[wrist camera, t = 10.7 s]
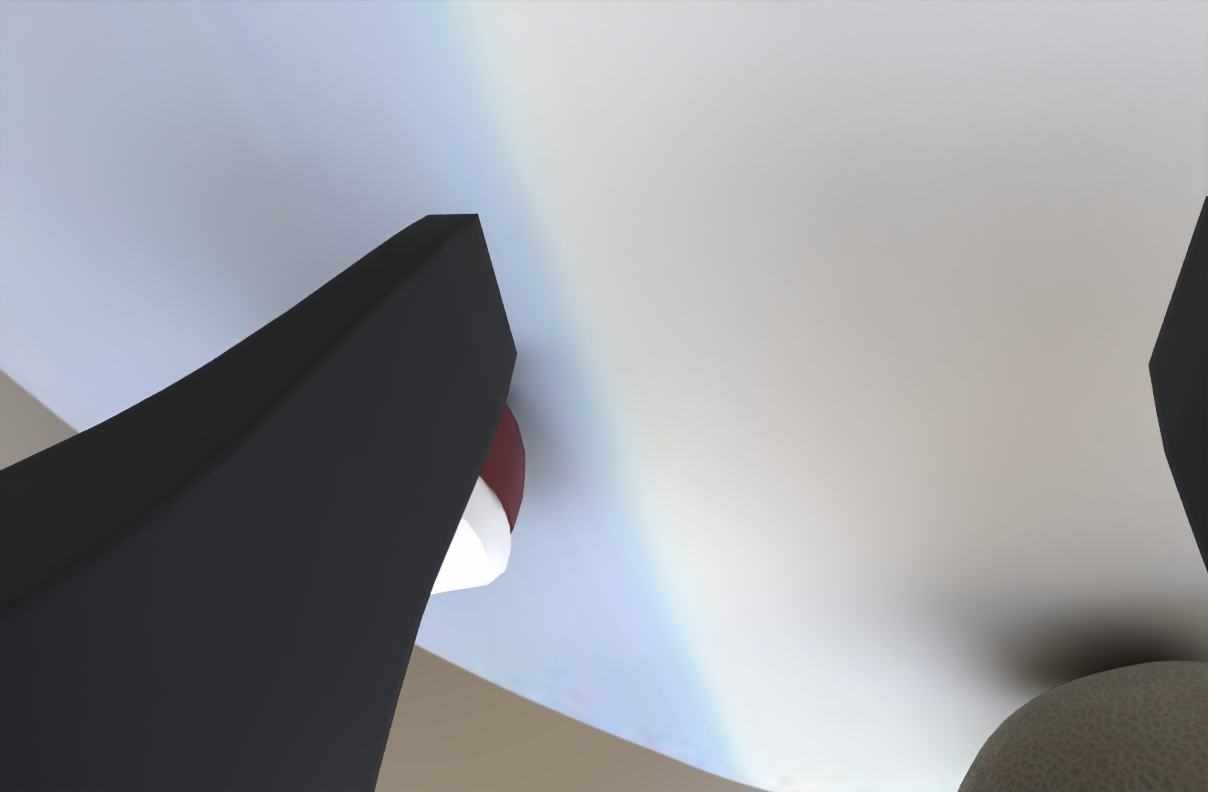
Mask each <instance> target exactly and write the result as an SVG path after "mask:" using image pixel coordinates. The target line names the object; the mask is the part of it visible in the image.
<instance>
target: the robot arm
mask: <svg viewBox="0 0 1208 792" xmlns="http://www.w3.org/2000/svg"><path fill="white" fill-rule="evenodd" d="M516 356H517V352H516V348H515V345H514V341H513V337H512V334H511V330H510V327H509V323H508V320H507V316H506V312H505V309H504V305H503V302H502V298H501V295H500V291H499V287H498V284H497V280H496V277H495V273H494V270H493V266H492V263H491V259H490V255H489V252H488V248H487V245H486V241H485V238H484V234H483V230H482V227H481V223H480V220H479V216H478V214H446V215H427V216H425V217H424V218H422V219H420V220H418V221H416V222H415V223H413V224H411V225H410V226H408V227H406V228H405V229H403V230H402V231H400V232H399V233H397V234H396V235H394V236H393V237H391V238H390V239H388V240H387V241H385V242H384V243H382V244H381V245H380V246H378V247H377V248H375V249H374V250H373V251H371V252H370V253H368V254H367V255H365V256H364V257H363V258H361V259H360V260H358V261H357V262H356V263H354V264H353V265H351V266H350V267H349V268H347V269H346V270H344V271H343V272H342V273H340V274H339V275H337V276H336V277H335V278H333V279H332V280H330V281H329V282H328V283H326V284H325V285H323V286H322V287H321V288H319V289H318V290H316V291H315V292H314V293H312V294H311V295H309V296H308V297H307V298H305V299H304V300H302V301H301V302H299V303H298V304H297V305H295V306H294V307H292V308H291V309H290V310H288V311H287V312H285V313H284V314H282V315H281V316H279V317H278V318H276V319H275V320H273V321H271V322H270V323H268V324H267V325H265V326H264V327H262V328H261V329H259V330H258V331H256V332H255V333H253V334H252V335H250V336H249V337H247V338H246V339H244V340H243V341H241V342H240V343H238V344H237V345H235V346H233V347H232V348H230V349H229V350H227V351H226V352H224V353H223V354H221V355H220V356H218V357H217V358H215V359H214V360H212V361H211V362H209V363H207V364H206V365H204V366H202V367H201V368H199V369H197V370H196V371H194V372H193V373H191V374H189V375H187V376H186V377H184V378H182V379H181V380H179V381H177V382H176V383H174V384H172V385H170V386H169V387H167V388H165V389H163V390H162V391H160V392H158V393H156V394H154V395H152V396H151V397H149V398H147V399H145V400H143V401H141V402H140V403H138V404H136V405H134V406H132V407H130V408H129V409H127V410H125V411H123V412H121V413H119V414H118V415H116V416H114V417H112V418H110V419H108V420H106V421H104V422H102V423H100V424H98V425H96V426H94V427H92V428H90V429H88V430H86V431H83V432H81V433H79V434H77V435H75V436H73V437H71V438H69V439H66V440H64V441H62V442H60V443H58V444H56V445H54V446H51V447H50V448H47V449H45V450H43V451H41V452H39V453H37V454H34V455H32V456H30V457H28V458H26V459H24V460H22V461H20V462H17V463H15V464H13V465H11V466H9V467H7V468H5V469H2V470H0V792H374V791H375V787H376V782H377V778H378V774H379V770H380V767H381V763H382V759H383V755H384V751H385V748H386V743H387V740H388V736H389V732H390V728H391V725H392V721H393V717H394V713H395V709H396V706H397V702H398V698H399V694H400V691H401V687H402V684H403V680H404V677H405V674H406V670H407V666H408V663H409V660H410V656H411V653H412V649H413V646H414V643H415V639H416V636H417V632H418V629H419V626H420V622H421V619H422V616H423V613H424V611H425V608H426V605H427V602H428V600H429V597H430V594H431V591H432V589H433V586H434V583H435V581H436V578H437V576H438V573H439V571H440V569H441V566H442V564H443V561H444V559H445V557H446V554H447V552H448V549H449V547H450V545H451V542H452V540H453V537H454V535H455V533H456V530H457V528H458V525H459V523H460V521H461V518H462V516H463V513H464V511H465V509H466V506H467V504H468V501H469V499H470V497H471V494H472V492H473V489H474V487H475V485H476V482H477V480H478V477H479V475H480V472H481V470H482V467H483V465H484V463H485V460H486V458H487V455H488V453H489V450H490V448H491V445H492V443H493V440H494V438H495V435H496V432H497V430H498V427H499V424H500V421H501V417H502V413H503V409H504V406H505V402H506V398H507V394H508V390H509V386H510V382H511V377H512V373H513V369H514V364H515V360H516ZM1149 371H1150V377H1151V383H1152V389H1153V395H1154V400H1155V406H1156V412H1157V417H1158V422H1159V427H1160V432H1161V437H1162V442H1163V446H1164V451H1165V455H1166V458H1167V461H1168V463H1169V466H1170V469H1171V472H1172V475H1173V478H1174V481H1175V484H1176V487H1177V489H1178V492H1179V495H1180V498H1181V501H1182V503H1183V506H1184V509H1185V512H1186V515H1187V518H1188V520H1189V523H1190V526H1191V529H1192V531H1193V534H1194V537H1195V539H1196V542H1197V545H1198V548H1199V550H1200V553H1201V556H1202V559H1203V561H1204V564H1205V567H1206V569H1207V572H1208V196H1206V198H1205V201H1204V204H1203V207H1202V210H1201V213H1200V216H1199V218H1198V221H1197V224H1196V227H1195V230H1194V233H1193V236H1192V239H1191V242H1190V245H1189V248H1188V251H1187V254H1186V257H1185V259H1184V262H1183V265H1182V268H1181V271H1180V274H1179V277H1178V280H1177V283H1176V286H1175V289H1174V292H1173V295H1172V297H1171V300H1170V303H1169V306H1168V309H1167V312H1166V315H1165V318H1164V321H1163V324H1162V327H1161V330H1160V333H1159V336H1158V338H1157V341H1156V344H1155V347H1154V350H1153V353H1152V356H1151V359H1150V362H1149Z"/></svg>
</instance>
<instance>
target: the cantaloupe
mask: <svg viewBox="0 0 1208 792" xmlns="http://www.w3.org/2000/svg"><path fill="white" fill-rule="evenodd" d="M958 792H1208V663H1207V662H1202V661H1188V660H1169V661H1155V662H1148V663H1142V664H1136V665H1130V666H1125V667H1120V668H1116V669H1111V670H1107V671H1103V672H1098V673H1095V674H1091V675H1088V676H1085V677H1082V678H1078V679H1075V680H1072V681H1069V682H1066V683H1064V684H1061V685H1059V686H1057V687H1055V688H1052V689H1051V690H1049V691H1047V692H1045V693H1043V694H1041V695H1040V696H1038V697H1036V698H1034V699H1033V700H1031V701H1030V702H1028V703H1027V704H1025V705H1024V706H1022V707H1021V708H1019V709H1018V710H1017V711H1015V712H1014V713H1013V714H1012V715H1011V716H1009V717H1008V718H1007V719H1006V720H1005V721H1003V723H1002V724H1001V725H1000V726H999V727H998V728H997V730H996V731H995V732H994V733H993V734H992V735H991V736H990V737H989V738H988V740H987V741H986V742H985V744H984V745H983V747H982V748H981V749H980V751H979V753H978V755H977V756H976V758H975V760H974V762H973V763H972V765H971V767H970V769H969V770H968V772H967V774H966V776H965V778H964V779H963V781H962V783H961V785H960V787H959V790H958Z"/></svg>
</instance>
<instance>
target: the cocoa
mask: <svg viewBox="0 0 1208 792" xmlns="http://www.w3.org/2000/svg"><path fill="white" fill-rule="evenodd" d="M524 478H525V451H524V447H523V443H522V439H521V435H520V431H519V427H518V424H517V422H516V420H515V418H514V416H513V414H512V412H511V410H510V409H509V408H508V407H507V406H506V405H505V406H504V409H503V413H502V417H501V421H500V424H499V427H498V430H497V432H496V435H495V438H494V440H493V443H492V445H491V448H490V450H489V453H488V455H487V458H486V460H485V463H484V465H483V467H482V470H481V472H480V475H479V477H478V480H477V482H476V485H475V487H474V489H473V492H472V494H471V497H470V499H469V501H468V504H467V506H466V509H465V511H464V513H463V516H462V518H461V521H460V523H459V525H458V528H457V530H456V533H455V535H454V537H453V540H452V542H451V545H450V547H449V549H448V552H447V554H446V557H445V559H444V561H443V564H442V566H441V569H440V571H439V573H438V576H437V578H436V581H435V583H434V586H433V589H432V591H431V594H435V593H440V592H446V591H453V590H459V589H465V588H472V587H478V586H485V585H488V584H489V583H490V582H492V581H493V580H494V579H495V578H497V577H498V576H499V575H500V574H501V573H503V572H504V571H505V569H506V566H507V563H508V559H509V556H510V553H511V536H510V534H511V532H512V531H513V529H514V526H515V522H516V519H517V516H518V512H519V509H520V505H521V502H522V498H523V488H524ZM431 594H430V595H431Z"/></svg>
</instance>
